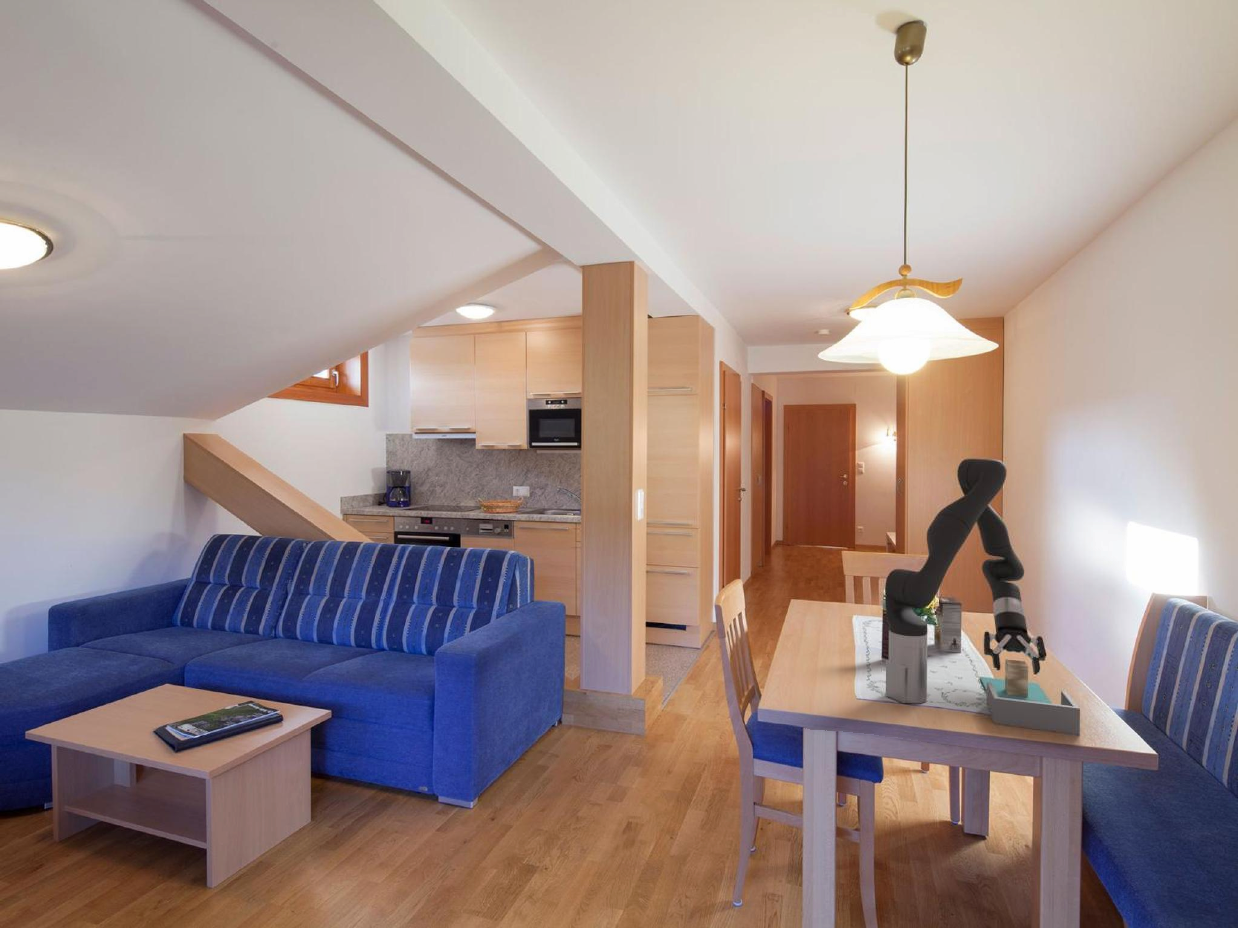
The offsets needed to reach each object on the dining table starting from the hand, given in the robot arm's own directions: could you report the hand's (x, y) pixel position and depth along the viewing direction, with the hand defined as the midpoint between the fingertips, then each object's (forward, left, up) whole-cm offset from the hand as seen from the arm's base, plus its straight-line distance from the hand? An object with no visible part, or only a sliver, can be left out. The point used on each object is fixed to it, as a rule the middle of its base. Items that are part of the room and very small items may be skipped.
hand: (1017, 670), depth 173 cm
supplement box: (-5, +35, -7) cm, 36 cm away
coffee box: (+21, +39, -7) cm, 44 cm away
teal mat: (+2, +2, -7) cm, 7 cm away
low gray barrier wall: (-11, -11, -7) cm, 17 cm away
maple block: (+1, +1, -6) cm, 6 cm away
